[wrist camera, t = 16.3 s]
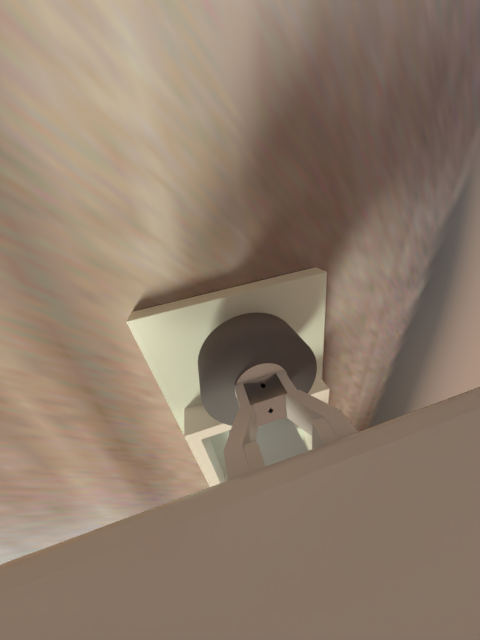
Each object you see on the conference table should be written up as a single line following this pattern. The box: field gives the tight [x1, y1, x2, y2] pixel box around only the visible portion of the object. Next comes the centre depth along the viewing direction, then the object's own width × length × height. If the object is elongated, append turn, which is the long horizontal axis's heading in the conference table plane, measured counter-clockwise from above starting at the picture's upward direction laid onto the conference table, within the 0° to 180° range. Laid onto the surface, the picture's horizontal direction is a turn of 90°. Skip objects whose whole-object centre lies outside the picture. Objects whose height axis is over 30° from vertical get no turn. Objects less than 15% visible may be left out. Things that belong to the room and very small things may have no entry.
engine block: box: [228, 417, 308, 466], centre depth 19 cm, size 5×6×6 cm
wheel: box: [198, 312, 317, 426], centre depth 13 cm, size 7×7×3 cm
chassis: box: [127, 267, 329, 487], centre depth 19 cm, size 22×14×4 cm, turn 10°
